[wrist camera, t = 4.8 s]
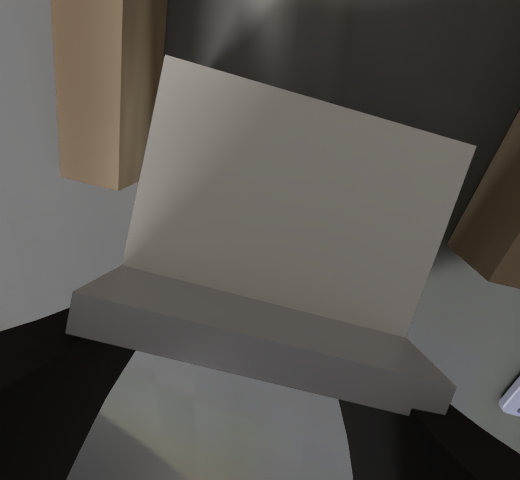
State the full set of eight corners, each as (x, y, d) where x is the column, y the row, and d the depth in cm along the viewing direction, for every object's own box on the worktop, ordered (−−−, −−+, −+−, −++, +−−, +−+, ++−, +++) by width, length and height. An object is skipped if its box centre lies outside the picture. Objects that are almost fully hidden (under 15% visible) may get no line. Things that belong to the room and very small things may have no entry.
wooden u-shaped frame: (801, -245, 7) (1116, -463, 4) (490, 255, 13) (544, 295, 10) (115, -422, 7) (7, -753, 4) (109, 162, 13) (61, 176, 10)
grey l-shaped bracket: (409, 160, 12) (562, 128, 6) (356, 317, 13) (441, 423, 7) (194, 98, 12) (126, -4, 6) (157, 265, 13) (65, 333, 7)
